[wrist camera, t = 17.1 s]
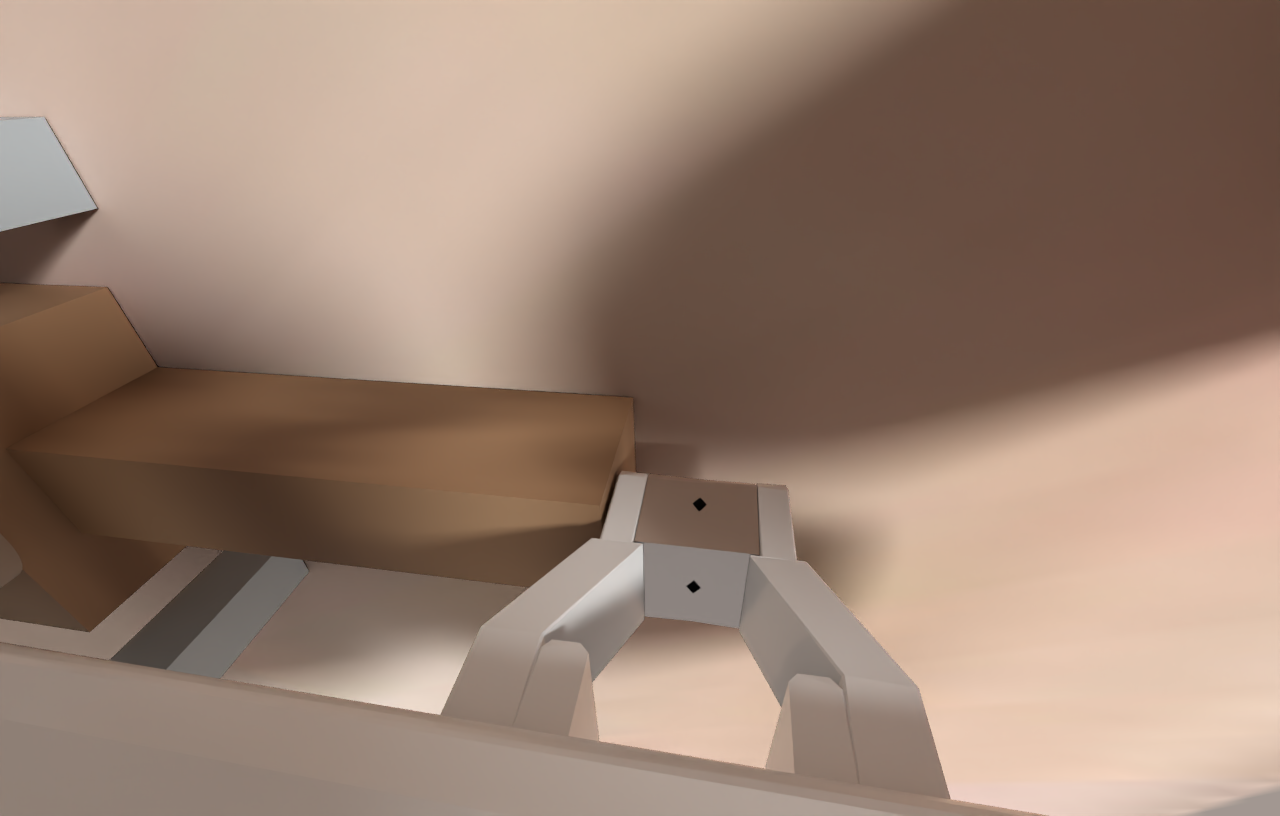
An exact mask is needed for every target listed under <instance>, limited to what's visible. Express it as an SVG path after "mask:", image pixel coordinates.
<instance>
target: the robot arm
mask: <svg viewBox="0 0 1280 816" xmlns="http://www.w3.org/2000/svg"><path fill="white" fill-rule="evenodd" d="M644 616H646V617H656V618H666V619H675V620H685V621H694V622H700V623H706V624H713V625H719V626H726V627H732V628H738V629H739V632H740V634H741V636H742V637H743V639H744V641H745V643H746V645H747V646H748V648H749V650H750V652H751V654H752V655H753V657H754V659H755V661H756V663H757V664H758V666H759V668H760V670H761V672H762V673H763V675H764V677H765V679H766V680H767V682H768V684H769V686H770V688H771V689H772V691H773V693H774V695H775V697H776V698H777V700H778V702H779V704H780V706H781V707H782V708H781V712H780V715H779V719H778V722H777V726H776V730H775V733H774V737H773V741H772V744H771V748H770V751H769V755H768V759H767V762H766V769H764V768H758V767H752V766H746V765H740V764H734V763H728V762H722V761H716V760H710V759H704V758H698V757H692V756H686V755H680V754H674V753H668V752H662V751H656V750H650V749H644V748H638V747H631V746H625V745H619V744H613V743H607V742H601V741H599V732H598V725H597V717H596V709H595V701H594V693H593V686H592V682H593V681H594V680H595V678H596V677H597V676H598V675H599V674H600V672H601V671H602V670H603V669H604V668H605V666H606V665H607V664H608V663H609V662H610V660H611V659H612V658H613V657H614V656H615V654H616V653H617V652H618V651H619V650H620V648H621V647H622V646H623V645H624V643H625V642H626V641H627V640H628V639H629V637H630V636H631V635H632V634H633V633H634V631H635V630H636V629H637V628H638V627H639V625H640V624H641V623H642V622H643V621H644ZM0 816H1047V815H1041V814H1035V813H1029V812H1023V811H1017V810H1011V809H1005V808H999V807H993V806H987V805H981V804H975V803H969V802H963V801H957V800H951V799H950V795H949V792H948V788H947V785H946V781H945V778H944V774H943V771H942V767H941V764H940V760H939V757H938V753H937V750H936V746H935V743H934V739H933V736H932V732H931V729H930V725H929V722H928V718H927V715H926V712H925V708H924V705H923V701H922V698H921V694H920V691H919V688H918V687H917V686H916V684H915V683H914V682H913V681H912V680H911V679H910V678H909V677H908V675H907V674H906V673H905V672H904V671H903V670H902V669H901V668H900V666H899V665H898V664H897V663H896V662H895V661H894V660H893V659H892V657H891V656H890V655H889V654H888V653H887V652H886V651H885V649H884V648H883V647H882V646H881V645H880V644H879V643H878V642H877V640H876V639H875V638H874V637H873V636H872V635H871V634H870V633H869V631H868V630H867V629H866V628H865V627H864V626H863V625H862V624H861V622H860V621H859V620H858V619H857V618H856V617H855V616H854V615H853V613H852V612H851V611H850V610H849V609H848V608H847V607H846V606H845V604H844V603H843V602H842V601H841V600H840V599H839V598H838V597H837V595H836V594H835V593H834V592H833V591H832V590H831V589H830V588H829V586H828V585H827V584H826V583H825V582H824V581H823V580H822V579H821V577H820V576H819V575H818V574H817V573H816V572H815V571H814V569H813V568H812V567H811V566H810V565H809V564H808V563H807V562H806V561H798V560H797V556H796V548H795V539H794V531H793V523H792V515H791V507H790V498H789V490H788V488H787V487H786V485H772V484H758V483H757V484H753V483H741V482H729V481H716V480H704V479H695V478H686V477H677V476H668V475H659V474H651V473H650V474H646V473H637V472H628V471H621V473H620V474H619V475H618V478H617V481H616V485H615V488H614V491H613V495H612V498H611V502H610V505H609V509H608V512H607V516H606V519H605V523H604V526H603V530H602V533H601V536H600V539H597V538H591V539H590V540H588V541H587V542H586V543H585V544H583V545H582V546H581V547H580V548H578V549H577V550H576V551H575V552H573V553H572V554H571V555H570V556H568V557H567V558H566V559H565V560H563V561H562V562H561V563H560V564H558V565H557V566H556V567H555V568H553V569H552V570H551V571H550V572H548V573H547V574H546V575H545V576H543V577H542V578H541V579H540V580H538V581H537V582H536V583H535V584H533V585H532V586H531V587H530V588H528V589H527V590H526V591H525V592H523V593H522V594H521V595H520V596H518V597H517V598H516V599H514V600H513V601H512V602H511V603H509V604H508V605H507V606H506V607H504V608H503V609H502V610H501V611H499V612H498V613H497V614H496V615H494V616H493V617H492V618H491V619H489V620H488V621H487V622H486V623H484V624H483V625H482V626H481V627H480V629H479V632H478V634H477V636H476V638H475V640H474V642H473V645H472V647H471V649H470V651H469V653H468V656H467V658H466V660H465V662H464V664H463V667H462V669H461V671H460V673H459V675H458V677H457V680H456V682H455V684H454V686H453V688H452V691H451V693H450V695H449V697H448V699H447V701H446V704H445V706H444V708H443V710H442V712H441V715H438V714H431V713H425V712H419V711H413V710H407V709H401V708H395V707H389V706H383V705H377V704H371V703H365V702H359V701H353V700H347V699H341V698H335V697H328V696H322V695H316V694H310V693H304V692H298V691H292V690H286V689H280V688H274V687H268V686H262V685H256V684H250V683H244V682H238V681H232V680H225V679H219V678H213V677H207V676H201V675H195V674H189V673H183V672H177V671H171V670H165V669H159V668H153V667H147V666H141V665H135V664H129V663H122V662H116V661H110V660H104V659H98V658H92V657H86V656H80V655H74V654H68V653H62V652H56V651H50V650H44V649H38V648H32V647H26V646H20V645H14V644H8V643H2V642H0Z"/></svg>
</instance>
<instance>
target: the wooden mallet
mask: <svg viewBox="0 0 1280 816" xmlns="http://www.w3.org/2000/svg"><path fill="white" fill-rule="evenodd" d="M621 471H628V472H636V459H635V434H634V408H633V398H632V397H616V396H601V395H585V394H570V393H554V392H538V391H523V390H507V389H491V388H476V387H460V386H445V385H429V384H413V383H398V382H382V381H366V380H351V379H335V378H319V377H304V376H288V375H273V374H257V373H241V372H226V371H210V370H194V369H179V368H163V367H157V365H156V364H155V362H154V361H153V359H152V357H151V356H150V354H149V353H148V351H147V349H146V348H145V346H144V345H143V343H142V342H141V340H140V338H139V337H138V335H137V334H136V332H135V330H134V329H133V327H132V326H131V324H130V323H129V321H128V319H127V318H126V316H125V315H124V313H123V311H122V310H121V308H120V307H119V305H118V303H117V302H116V300H115V299H114V297H113V296H112V294H111V292H110V291H109V289H108V288H107V287H89V286H63V285H37V284H11V283H0V618H1V619H7V620H14V621H20V622H27V623H33V624H40V625H46V626H53V627H59V628H66V629H72V630H79V631H85V632H90V631H92V630H93V629H94V628H95V627H96V626H97V625H98V624H99V623H101V622H102V621H103V620H104V619H105V618H106V617H107V616H108V615H110V614H111V613H112V612H113V611H114V610H115V609H116V608H117V607H119V606H120V605H121V604H122V603H123V602H124V601H125V600H126V599H128V598H129V597H130V596H131V595H132V594H133V593H134V592H135V591H137V590H138V589H139V588H140V587H141V586H142V585H143V584H144V583H146V582H147V581H148V580H149V579H150V578H151V577H152V576H153V575H155V574H156V573H157V572H158V571H159V570H160V569H161V568H162V567H164V566H165V565H166V564H167V563H168V562H169V561H170V560H172V559H173V558H174V557H175V556H176V555H177V554H178V553H179V552H181V551H182V550H183V549H184V548H185V547H186V546H192V547H200V548H208V549H217V550H225V551H233V552H241V553H250V554H258V555H266V556H275V557H283V558H291V559H299V560H308V561H316V562H324V563H332V564H341V565H349V566H357V567H366V568H374V569H382V570H390V571H399V572H407V573H415V574H424V575H432V576H440V577H448V578H457V579H465V580H473V581H481V582H490V583H498V584H506V585H515V586H523V587H531V586H532V585H533V584H535V583H536V582H537V581H538V580H540V579H541V578H542V577H543V576H545V575H546V574H547V573H548V572H550V571H551V570H552V569H553V568H555V567H556V566H557V565H558V564H560V563H561V562H562V561H563V560H565V559H566V558H567V557H568V556H570V555H571V554H572V553H573V552H575V551H576V550H577V549H578V548H580V547H581V546H582V545H583V544H585V543H586V542H587V541H588V540H590V539H591V538H597V539H600V536H601V533H602V530H603V526H604V523H605V519H606V516H607V512H608V509H609V505H610V502H611V498H612V495H613V491H614V488H615V485H616V481H617V478H618V475H619V474H620V473H621Z"/></svg>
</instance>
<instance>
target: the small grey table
mask: <svg viewBox="0 0 1280 816" xmlns="http://www.w3.org/2000/svg"><path fill="white" fill-rule="evenodd" d="M93 209H97V207H96V205H95V203H94V202H93V200H92V198H91V197H90V195H89V193H88V191H87V190H86V188H85V186H84V185H83V183H82V181H81V179H80V178H79V176H78V174H77V173H76V171H75V169H74V167H73V166H72V164H71V162H70V161H69V159H68V157H67V155H66V154H65V152H64V150H63V149H62V147H61V145H60V143H59V142H58V140H57V138H56V137H55V135H54V133H53V131H52V130H51V128H50V126H49V125H48V123H47V121H46V119H45V118H44V117H0V231H4V230H9V229H13V228H17V227H21V226H26V225H30V224H34V223H38V222H42V221H47V220H51V219H55V218H59V217H64V216H68V215H72V214H76V213H80V212H85V211H89V210H93ZM308 572H309V571H308V569H307V567H306V565H305V564H304V562H303V560H299V559H291V558H283V557H275V556H266V555H258V554H250V553H241V552H233V551H225V550H224V551H223V552H222V553H221V554H220V555H219V556H217V557H216V558H215V559H214V560H213V561H212V562H211V563H210V564H209V565H208V566H207V567H206V568H205V569H204V570H203V571H202V572H201V573H200V574H199V575H198V576H197V577H196V578H195V579H194V580H193V581H191V582H190V583H189V584H188V585H187V586H186V587H185V588H184V589H183V590H182V591H181V592H180V593H179V594H178V595H177V596H176V597H175V598H174V599H173V600H172V601H171V602H170V603H169V604H168V605H166V606H165V607H164V608H163V609H162V610H161V611H160V612H159V613H158V614H157V615H156V616H155V617H154V618H153V619H152V620H151V621H150V622H149V623H148V624H147V625H146V626H145V627H144V628H143V629H142V630H140V631H139V632H138V633H137V634H136V635H135V636H134V637H133V638H132V639H131V640H130V641H129V642H128V643H127V644H126V645H125V646H124V647H123V648H122V649H121V650H120V651H119V652H118V653H117V654H115V655H114V656H113V657H112V658H111V659H110V661H116V662H122V663H129V664H135V665H141V666H147V667H153V668H159V669H165V670H171V671H177V672H183V673H189V674H195V675H201V676H207V677H213V678H219V679H220V678H221V677H222V676H223V674H224V673H225V672H226V671H227V670H228V668H229V667H230V666H231V665H232V664H233V662H234V661H235V660H236V659H237V658H238V656H239V655H240V654H241V653H242V652H243V650H244V649H245V648H246V647H247V646H248V644H249V643H250V642H251V641H252V640H253V638H254V637H255V636H256V635H257V634H258V632H259V631H260V630H261V629H262V628H263V626H264V625H265V624H266V623H267V622H268V620H269V619H270V618H271V617H272V616H273V614H274V613H275V612H276V611H277V610H278V608H279V607H280V606H281V605H282V604H283V602H284V601H285V600H286V599H287V598H288V596H289V595H290V594H291V593H292V592H293V590H294V589H295V588H296V587H297V586H298V584H299V583H300V582H301V581H302V580H303V578H304V577H305V576H306V575H307V574H308Z"/></svg>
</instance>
